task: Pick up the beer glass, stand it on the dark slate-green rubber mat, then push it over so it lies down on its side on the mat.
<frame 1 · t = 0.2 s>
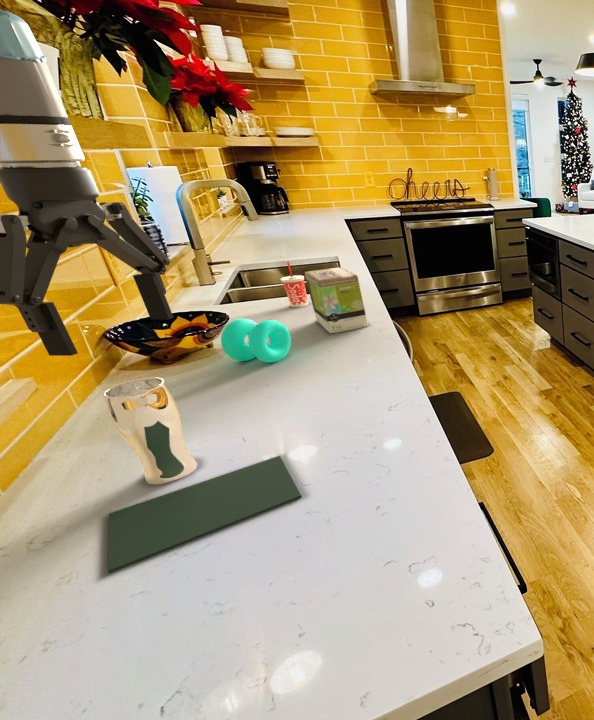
hand: (117, 335, 67), 24 cm above the countertop, tool pointing down, fingers open, 13 cm apart
beer glass: (173, 473, 78), on the countertop
mat: (208, 507, 71), on the countertop
donuts: (263, 360, 118), on the countertop
beverage cup: (300, 306, 158), on the countertop
tea box: (342, 324, 142), on the countertop
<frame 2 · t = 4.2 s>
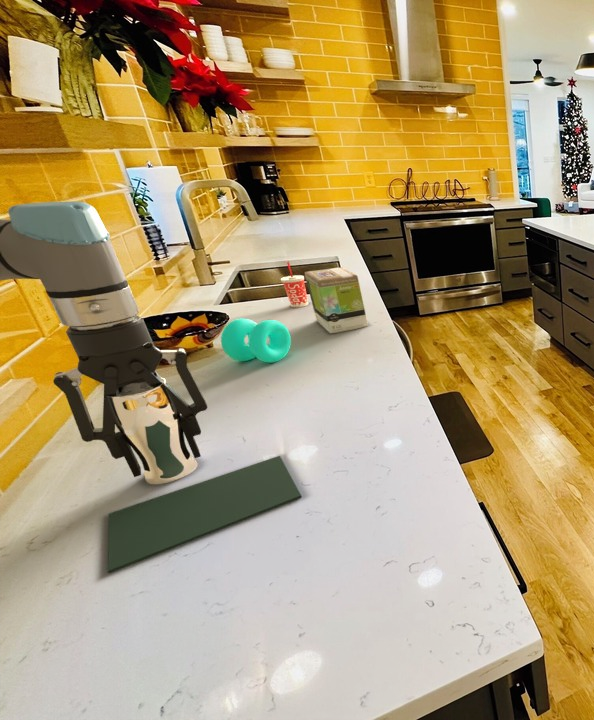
hand: (167, 462, 77), 2 cm above the countertop, tool pointing down, fingers closed on beer glass, 6 cm apart
beer glass: (173, 473, 78), on the countertop, touching gripper
everything else where it was.
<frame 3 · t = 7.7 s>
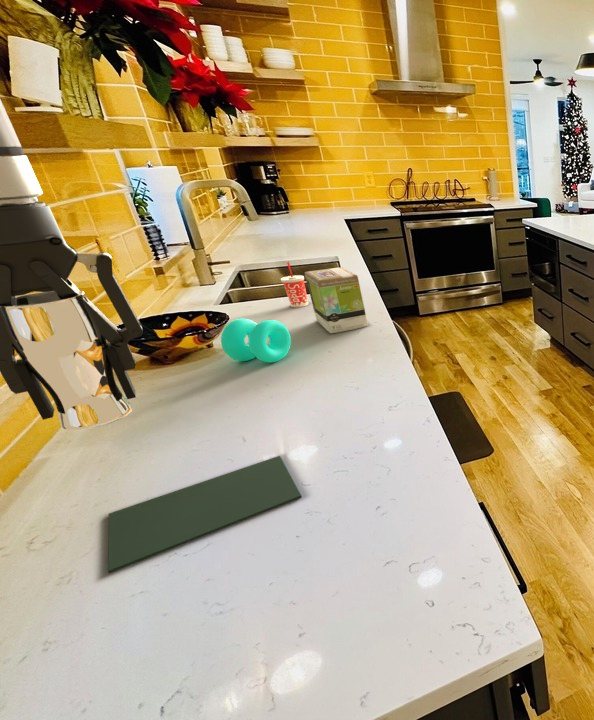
hand: (91, 403, 59), 19 cm above the countertop, tool pointing down, fingers closed on beer glass, 6 cm apart
beer glass: (99, 419, 60), point 17 cm above the countertop, touching gripper
everything else where it was.
when the fingers open (2 cm above the countertop, at t = 11.5 s): beer glass stays where it is, resting on mat.
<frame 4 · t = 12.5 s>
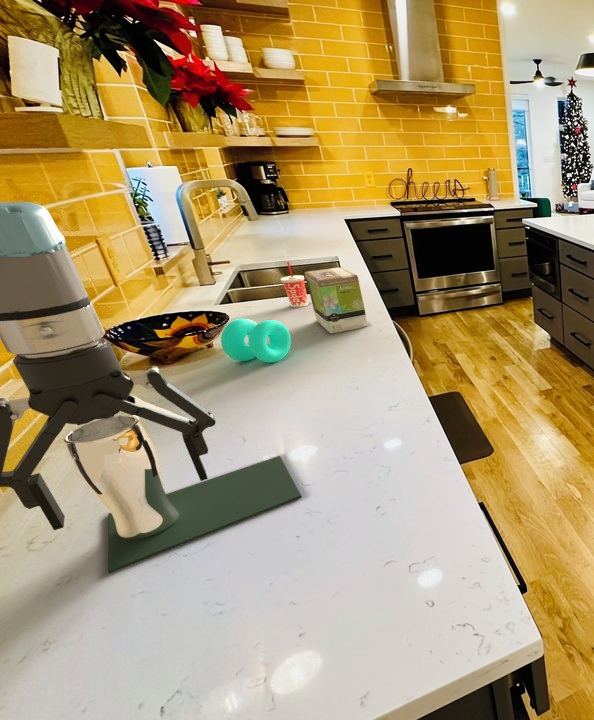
hand: (136, 498, 65), 5 cm above the countertop, tool pointing down, fingers open, 13 cm apart
beer glass: (150, 526, 67), resting on mat
everything else where it was.
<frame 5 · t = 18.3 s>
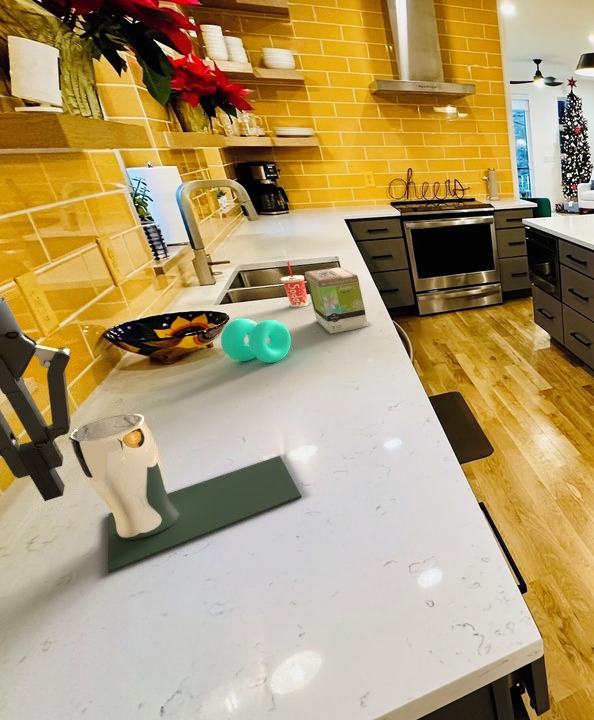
hand: (54, 492, 59), 9 cm above the countertop, tool pointing down, fingers closed
beer glass: (150, 525, 67), resting on mat, touching gripper
everything else where it was.
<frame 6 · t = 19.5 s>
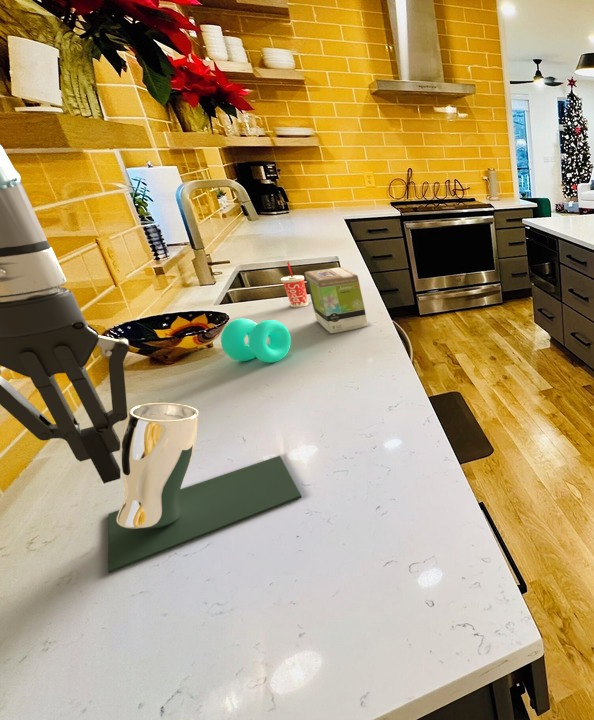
hand: (112, 476, 62), 9 cm above the countertop, tool pointing down, fingers closed
beer glass: (149, 518, 66), point 1 cm above the countertop, touching mat
everything else where it was.
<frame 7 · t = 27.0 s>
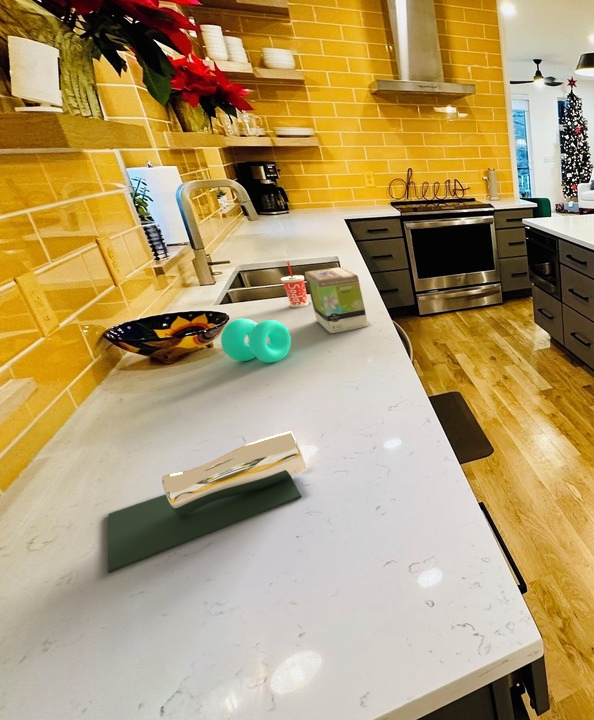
beer glass: (169, 497, 67), point 4 cm above the countertop, touching mat
everything else where it was.
at the end: beer glass tilted 87°; beer glass inside the target area (4.2 cm from its centre), point 3.5 cm above the countertop; the gripper is holding nothing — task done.
